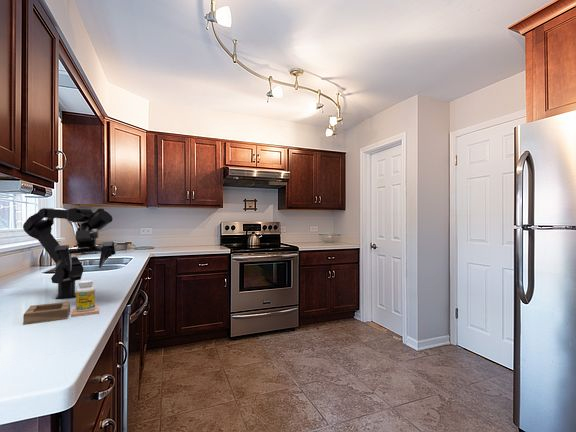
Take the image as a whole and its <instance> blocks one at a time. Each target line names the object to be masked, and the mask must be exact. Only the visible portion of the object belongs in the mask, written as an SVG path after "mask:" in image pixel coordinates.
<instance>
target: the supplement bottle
mask: <svg viewBox="0 0 576 432" xmlns="http://www.w3.org/2000/svg"><path fill="white" fill-rule="evenodd" d="M93 284H94V282H93V280H90V279H89V280H88V279H87V280H79V281H78V287H77V288H76V289H75V293H76V297H75V308H76V310H77V311H78V312H85V311H90V310H93V309H94V308H95V306H96V288H95V286H93Z"/></svg>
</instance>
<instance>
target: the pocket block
mask: <svg viewBox="0 0 576 432" xmlns="http://www.w3.org/2000/svg"><path fill="white" fill-rule="evenodd" d="M70 311H71V301H62V302H51V303H44V304H43V303H42V304H35V305H30V306H29V307H28V308H27V310H26V311H25V312H24V314H23V315H22V316H23V317H22V318H23V323H22V324H23V325H24V326H25V325H31V324H38V323H45V322H53V321H54V322H55V321H61V320H62V321H63V320H67V319H68V318H69V315H70Z"/></svg>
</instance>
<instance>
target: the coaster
mask: <svg viewBox="0 0 576 432" xmlns="http://www.w3.org/2000/svg"><path fill="white" fill-rule="evenodd" d="M97 314H100V305H95V308H94V309H93V310H90V311H85V312H78V311H77V310H76V307H75V308H72V311H71V314H70V317H71V318H74V317H81V316H88V315H97Z"/></svg>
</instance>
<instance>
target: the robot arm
mask: <svg viewBox="0 0 576 432" xmlns="http://www.w3.org/2000/svg"><path fill="white" fill-rule="evenodd" d="M44 218H45V219H44ZM55 219H64V220H67V221H69V222H72V223H81V224H80V225H79V227H78V228H77V229H76V231H75V241H76V242H75V243H76V246H77V247H70V245H69V244H63V245H60V244H59V242H58V240H57V239H56V238H55V237H54V236H53V234H52V229H53V228H52V226H53V225H54V220H55ZM113 219H114V218H113V216H112V214H110V213H109V212H108V211H106V210H105V209H104V208H100V207H99V208H98V209H97V210H96V211H95V212H93V211H92V209H91V208H88V207H87V208H83V207H73V208H72V207H71V208H68V209H58V208H57V209H55V208H52V207H42V208H40V209H39V210H38V212H36V213H34V214H32V215H30V216H29V217H28V218H27V219H26V221H25V222H24V223H23V224H22V225H23V226H22V229H23V230H24V232H25V234H27V235H28V236H29V237H31V238H34V239H36V240H37V241H38V242H39V244H41V246H42V247H43V249H44V250H45V251H46V253H47V254H48V255H49V257H50V258H51V259H52V260H53V262H54V264H55V269H54V270H55V273H54V274H53V275H52V276H51V277H50V279H51V282H52V283H53V284H57V294H56V296H55V299H56V300H58V299H59V300H60V299H68V298H69V299H70V298H76V281H82V280H81V279H82V276H83V273H84V267H83V266H84V265H83V262H81V260H79V257H77V256H72V254H90V253H100V255H99V257H100V258H99V262H98V268H99V269H101V268H103V267H102V266H103V265H104V264H105V263H106V261H107V260H108V258H110V257H112V256H113V255H116V252H117V251H116V245H115V244H116V243H115V242H114V241H112V240H111V241H103V242H101V243H102V244H101V245H98V246H97V239H99V231H100V230H103V229H104V228H105V227H107V226H108V225H109V224H111V223H112V222H113Z"/></svg>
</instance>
